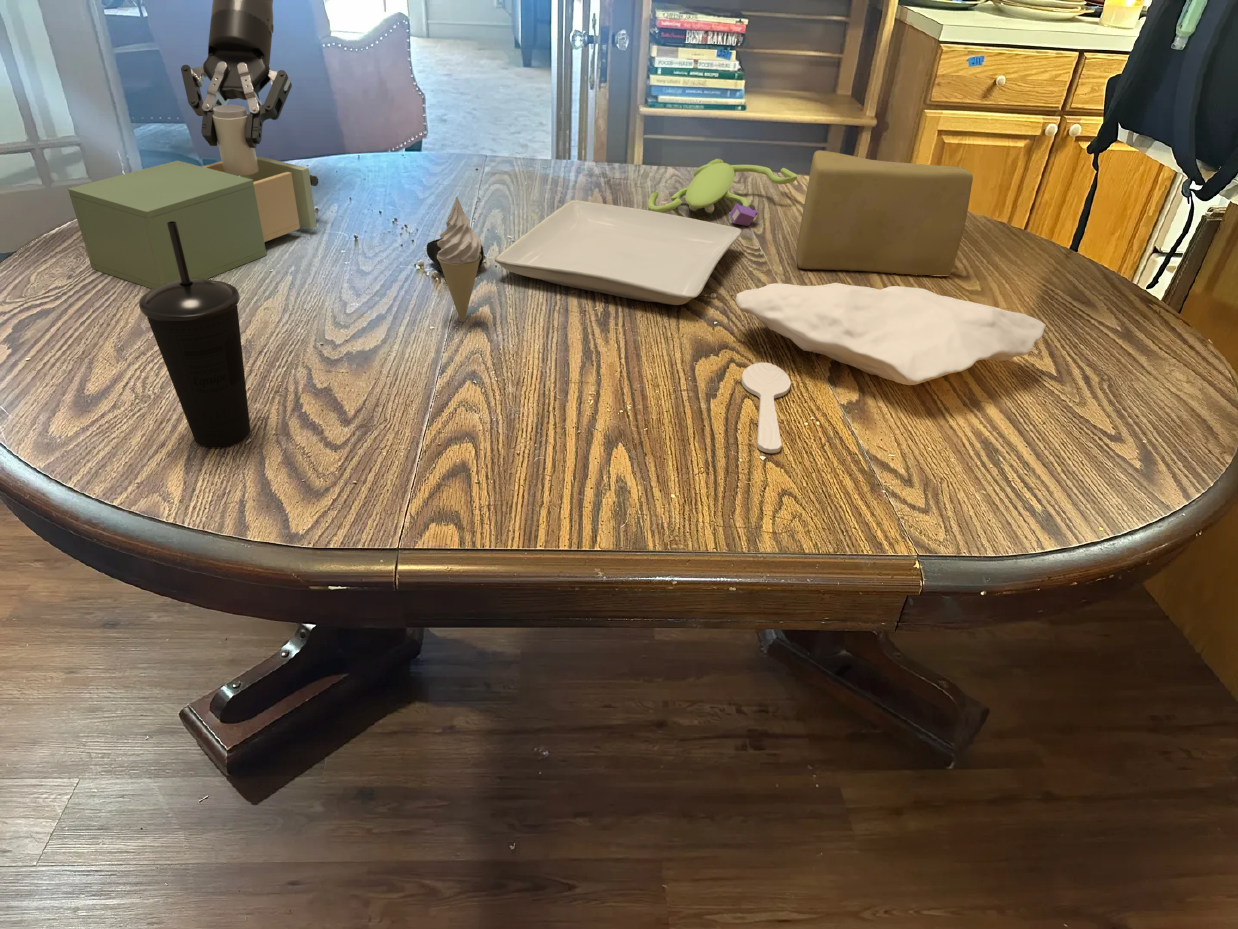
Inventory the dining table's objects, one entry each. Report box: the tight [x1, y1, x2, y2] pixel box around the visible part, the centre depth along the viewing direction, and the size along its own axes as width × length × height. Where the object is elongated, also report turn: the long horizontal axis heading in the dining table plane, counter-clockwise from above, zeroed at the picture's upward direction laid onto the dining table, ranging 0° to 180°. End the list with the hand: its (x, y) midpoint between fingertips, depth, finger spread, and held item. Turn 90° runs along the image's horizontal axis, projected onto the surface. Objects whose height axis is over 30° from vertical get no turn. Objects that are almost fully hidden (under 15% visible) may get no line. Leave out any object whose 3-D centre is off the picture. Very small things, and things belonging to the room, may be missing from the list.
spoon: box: [740, 361, 792, 454], centre depth 89 cm, size 5×18×1 cm, turn 173°
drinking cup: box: [138, 221, 251, 449], centre depth 73 cm, size 8×8×20 cm
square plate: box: [494, 199, 742, 306], centre depth 118 cm, size 27×27×4 cm
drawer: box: [201, 155, 319, 243], centre depth 118 cm, size 19×12×8 cm, turn 153°
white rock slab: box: [735, 282, 1047, 386], centre depth 97 cm, size 24×35×9 cm
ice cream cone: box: [437, 195, 482, 323], centre depth 97 cm, size 5×5×15 cm
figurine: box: [647, 158, 798, 227], centre depth 143 cm, size 18×27×6 cm
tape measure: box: [426, 237, 485, 273], centre depth 113 cm, size 7×7×4 cm
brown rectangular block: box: [795, 149, 974, 276], centre depth 120 cm, size 22×10×15 cm, turn 81°
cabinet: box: [67, 160, 267, 290], centre depth 108 cm, size 16×14×10 cm
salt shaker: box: [212, 104, 259, 176], centre depth 112 cm, size 4×4×8 cm
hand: (231, 143), depth 111 cm, fingers closed on salt shaker, 4 cm apart
